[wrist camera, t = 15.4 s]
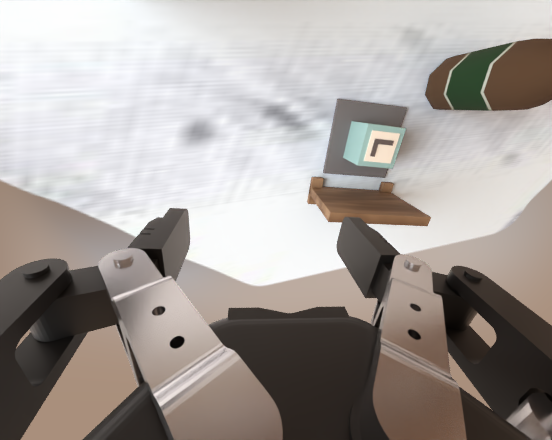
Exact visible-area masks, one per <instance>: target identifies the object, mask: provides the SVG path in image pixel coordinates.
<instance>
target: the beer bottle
mask: <svg viewBox="0 0 552 440" xmlns="http://www.w3.org/2000/svg"><path fill="white" fill-rule="evenodd" d="M425 96H426V97H427V99H428V101H429V102H430V104H431V106H432V107H433V109H444V110H487V111H496V110H522V109H530V108H533V107H537V106H540V105H543V104H545V103H547V102H549V101H550V100H552V39H530V40H523V41H517V42H513V43H509V44H504V45H500V46H496V47H492V48H487V49H483V50H479V51H475V52H470V53H466V54H462V55H458V56H454V57H451V58H448V59H446V60H445V61H444V62H443V63H442V64H441V65H440V66H439V67H438V68H437V69H436V70H435V71H434V72H433V73H431V74H430V76H429V80H428V84H427V88H426V93H425Z"/></svg>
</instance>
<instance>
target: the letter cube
mask: <svg viewBox="0 0 552 440" xmlns="http://www.w3.org/2000/svg"><path fill="white" fill-rule="evenodd" d="M405 131H406V128H400V127H393V126H386V125H379V124H371V123H363V122H355V121H352V122H351V126H350V130H349V134H348V139H347V143H346V147H345V151H344V156H343V158H345V159H347V160H348V161H350V162H352V163H354V164H356V165H358V166H369V167H379V168H390V169H393V166H394V163H395V160H396V157H397V154H398V152H399V149H400V146H401V143H402V140H403V137H404V134H405Z"/></svg>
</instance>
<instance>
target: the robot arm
mask: <svg viewBox="0 0 552 440" xmlns="http://www.w3.org/2000/svg"><path fill="white" fill-rule="evenodd" d="M189 245H190V230H189V216H188V210H187V209H179V208H170V209H169V210H168V212H167V213H166V214H165V216H164V217H163V218H159V217H158V218H156V219H154V220H152V221H150V222H149V223H148V224H147V225H146V226H145V228H144V229H143V230H142V231H141V232H140V234H139V235H138V236H137V237H136V238H135V239H134V241H133V242H132V243H131V244H130V246H129V247H128V248H126V249H121V250H116V251H114V252H111V253H109V254H107V255H105V256H104V257H103V258H102V259H101V260H100V261H99V263H98V266H95V267H89V268H83V269H77V270H71V271H70V270H69V267H68V264H67V262H66V261H64V260H61V259H44V260H39V261H34V262H31V263H28V264H25V265H23V266H21V267H18V268H16V269H15V270H13V271H11V272H10V273H9V274H8V275H6V276H5V277H3V278H2V279H1V280H0V440H20V439H21V438H22V436H23V435H24V433H25V431H26V430H27V428H28V426H29V425H30V423H31V422H32V420H33V419H34V417H35V416H36V414H37V412H38V411H39V409H40V408H41V406H42V404H43V402H44V401H45V400H46V398H47V396H48V395H49V393H50V391H51V390H52V388H53V387H54V385H55V384H56V382H57V380H58V379H59V377H60V376H61V374H62V372H63V371H64V369H65V368H66V366H67V365H68V363H69V361H70V360H71V358H72V357H73V355H74V353H75V352H76V350H77V348H78V347H79V345H80V344H81V342H82V340H83V339H84V337H85V336H86V334H87V333H88V332H89V331H93V330H97V329H101V328H104V327H108V326H112V325H116V328H117V331H118V334H119V336H120V339H121V341H122V344H123V346H124V349H125V352H126V354H127V357H128V360H129V363H130V365H131V368H132V371H133V374H134V377H135V380H136V383H137V386H138V388H137V389H136V390H134V391H133V392H132V393H131V394H130V395H129V396H128V397H127V398H126V399H125V400H124V401H123V402H122V403H121V404H120V405H119V406H118V407H117V408H116V409H114V410H113V411H112V412H111V413H110V414H109V415H108V416H107V417H106V418H105V419H104V420H103V421H102V422H101V423H100V424H99V425H97V426H96V427H95V428H94V429H93V430H92V431H91V432H90V433H89V434H88V435H87V436H86V437H85V438H84V439H83V440H552V326H551V325H550V324H548V323H547V322H546V321H545V320H543V319H542V318H541V317H539V316H538V315H537V314H535V313H534V312H533V311H531V310H530V309H529V308H527V307H526V306H525V305H524V304H522V303H521V302H519V301H518V300H517V299H516V298H514V297H513V296H511V295H510V294H509V293H508V292H506V291H505V290H504V289H502V288H501V287H500V286H499V285H497V284H496V283H495V282H493V281H492V280H491V279H489V278H488V277H487V276H485V275H483V274H482V273H480V272H478V271H476V270H473V269H470V268H467V267H463V266H454V267H452V268H451V270H450V272H449V274H448V275H444V274H439V273H435V272H432V270H431V268H430V267H429V265H427V264H426V263H425V262H423V261H422V260H420V259H418V258H416V257H413V256H409V255H403V254H400V253H399V252H398V251H397V250H396V249H395V248H394V247H393V246H392V245H391V244H390V243H387V241H386V240H385V239H384V238H383V237H382V236H381V235H380V234H379V233H378V232H377V231H375V230H374V229H372V228H370V227H369V226H368V225H367V224H366V223H365V222H364V221H363V220H362V219H361V218H359V217H345V218H344V219H343V221H342V225H341V229H340V233H339V237H338V241H337V252H338V254H339V256H340V257H341V259H342V261H343V262H344V264H345V265H346V267H347V269H348V270H349V272H350V274H351V275H352V277H353V279H354V280H355V282H356V283H357V285H358V287H359V288H360V290H361V292H362V293H363V295H364V297H365V298H377V299H378V300H377V303H376V306H375V309H374V313H373V317H372V320H371V324H369V323H367V322H365V321H363V320H360V319H358V318H354V317H351V316H349V315H348V313H347V311H346V309H345V307H316V308H312V309H308V310H303V311H299V312H296V313H283V312H278V311H273V310H268V309H262V308H229V311H228V318H226V319H222V320H219V321H216V322H213V323H211V324H209V325H208V324H207V323H206V322H205V320H204V319H203V317H201V315H200V313H198V311H197V310H196V308H195V307H194V306H193V304H192V303H191V302H190V300H189V299H188V298H187V296H186V295H185V294H184V292H183V291H182V290H181V288H180V287H179V286H178V284H177V283H176V279H177V277H178V274H179V271H180V269H181V267H182V264H183V262H184V259H185V257H186V255H187V252H188V250H189ZM477 312H478V313H479V314H480V315H481V316H482V317H483V318H484V319H485V320H486V321H487V322H488V323H489V324H490V325H491V326H492V327H493V328H494V330H495V332H496V336H497V339H496V342H495V344H494V345H493V346H492V347H491V348H490V347H489V346H488V345H487V344H486V343H485V342H484V340H483V339H482V338H481V337H480V336H479V335H478V334H477V333H476V332H475V331H474V330H473V329H472V328H471V327H470V326H469V324H470V323H471V321H472V320H473V318H474V317H475V315H476V314H477ZM29 329H30V331H31V333H30V334H29V335H28V336H27V337H26V338H25V339H24V341H23V342H22V343H21V344H20V345H19V346H18V347H17V344H18V342H19V341H20V339H21V338H22V337H23V335H24V334H25V333H26V332H27V331H28V330H29ZM16 347H17V349H16ZM448 352H449V353H450V355H451V356H452V357H453V359H454V360H455V361H456V363H457V364H458V365H459V367H460V368H461V369H462V371H463V372H464V373H465V375H466V376H467V377H468V379H469V380H470V381H471V382H472V384H473V385H474V387H475V388H476V389H477V390H478V392H479V393H480V394H481V396H482V397H483V399H484V400H485V401H486V402H487V404H488V405H489V406H490V408H491V409H492V410H493V411H492V410H491V409H489V408H488V407H487V406H485V405H484V404H483V403H481V402H480V401H478V400H477V399H476V398H474V397H473V396H471V395H470V394H469V393H467V392H466V391H464V390H463V389H462V388H460V387H459V386H458V384H457V382H456V381H455V380H454V379H452V377H451V374H450V367H449V357H448Z"/></svg>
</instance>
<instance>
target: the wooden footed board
mask: <svg viewBox="0 0 552 440" xmlns="http://www.w3.org/2000/svg"><path fill="white" fill-rule="evenodd" d="M323 180H324V179H323V178H322V177H312V178H311V184H310V189H309V195H308V201H307V202H308V204H317V206H318V207H319V209H320V210H321V212H322V213H323V215H324V216H325V217H326V219H327V220H328V222H342V221H343V219H344V218H345V217H359V218H361V219H362V220H363V221H364V222H365V223H368V224H391V225H413V226H428V223H429V221H430V219H431V217H430V216H428V215H426V214H425V213H423V212H422V211H420V210H418V209H417V208H415V207H413V206H412V205H410V204H408V203H407V202H405V201H404V200H402V199H400V198H399V197H397V196H395V195H394V194H392V193H391V191H392V188H393V185H394V184H393V183H390V182H381V185H380V188H379V190H365V189H350V188H335V187H322V185H323Z"/></svg>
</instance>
